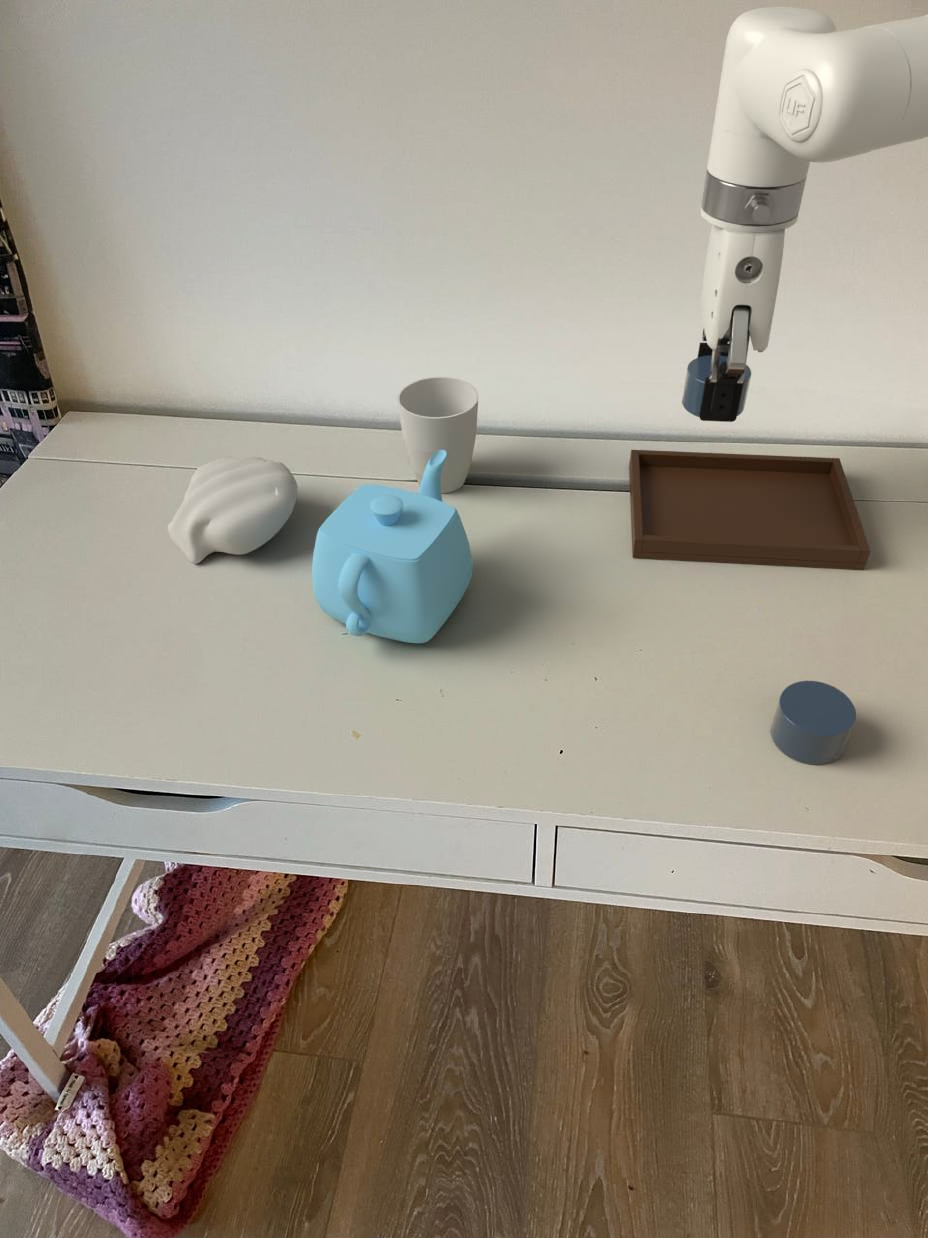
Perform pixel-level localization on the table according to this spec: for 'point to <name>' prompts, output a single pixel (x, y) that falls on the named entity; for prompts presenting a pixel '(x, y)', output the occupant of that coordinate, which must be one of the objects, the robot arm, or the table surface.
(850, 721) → the blue-grey hockey puck
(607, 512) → the table surface
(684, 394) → the blue short cylinder
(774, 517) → the tray
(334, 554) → the teapot
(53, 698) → the table surface
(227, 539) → the shell shaped sculpture
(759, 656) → the table surface
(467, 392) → the cup
